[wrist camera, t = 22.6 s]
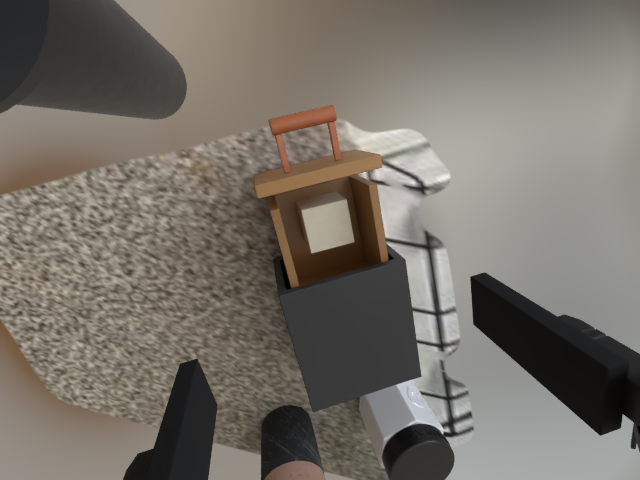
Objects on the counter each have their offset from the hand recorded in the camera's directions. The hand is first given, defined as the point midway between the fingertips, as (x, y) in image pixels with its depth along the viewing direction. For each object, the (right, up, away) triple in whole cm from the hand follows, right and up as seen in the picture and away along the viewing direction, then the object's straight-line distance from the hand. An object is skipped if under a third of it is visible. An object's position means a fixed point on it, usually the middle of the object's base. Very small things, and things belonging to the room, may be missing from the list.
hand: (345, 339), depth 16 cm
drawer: (-2, +9, +22) cm, 24 cm away
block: (-1, +7, +22) cm, 23 cm away
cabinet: (+1, -3, +28) cm, 28 cm away
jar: (+8, -18, +34) cm, 40 cm away
